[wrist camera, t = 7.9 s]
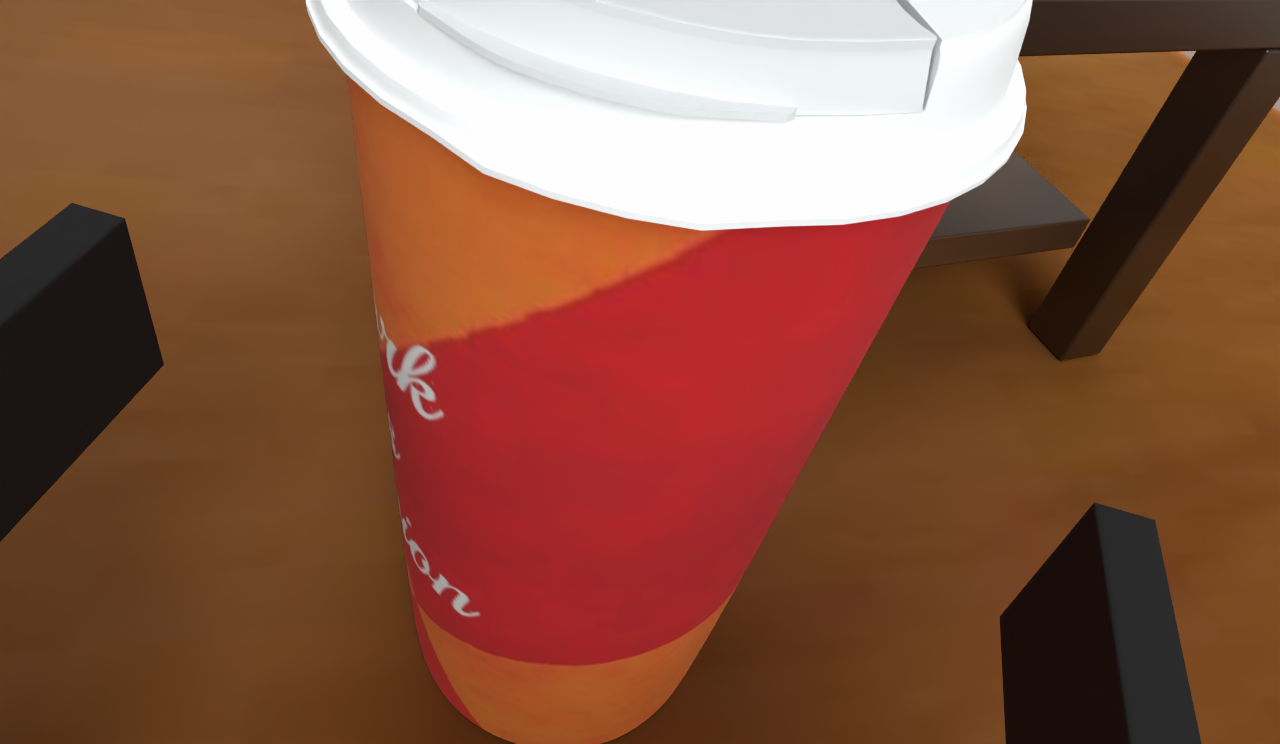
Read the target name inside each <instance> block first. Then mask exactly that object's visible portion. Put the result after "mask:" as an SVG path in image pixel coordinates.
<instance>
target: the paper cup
mask: <svg viewBox="0 0 1280 744" xmlns="http://www.w3.org/2000/svg"><path fill="white" fill-rule="evenodd" d="M1032 1H1033V0H306V7H307V12H308V14H309V17H310V19H311V21H312V24H313V26H314V28H315V31H316V33H317V36H318V38H319V40H320V42H321V43H322V44H323V45H324V47H325V48H326V49H327V51H328V52H329V53H330V55H331V56H332V57H333V58H334V60H335V61H336V62H337V64H338V65H339V66H340V68H341V69H342V70H343V71H344V73H346V74H347V77H348V86H349V94H350V102H351V111H352V119H353V127H354V136H355V144H356V152H357V161H358V169H359V177H360V186H361V194H362V202H363V211H364V219H365V227H366V236H367V244H368V252H369V261H370V269H371V278H372V286H373V295H374V303H375V311H376V320H377V328H378V337H379V345H380V353H381V362H382V370H383V379H384V387H385V396H386V404H387V412H388V421H389V429H390V437H391V445H392V453H393V461H394V469H395V477H396V485H397V493H398V501H399V510H400V518H401V525H402V533H403V540H404V548H405V556H406V563H407V571H408V578H409V585H410V591H411V598H412V604H413V610H414V617H415V623H416V628H417V633H418V637H419V642H420V646H421V649H422V653H423V656H424V659H425V661H426V664H427V666H428V668H429V670H430V673H431V675H432V677H433V679H434V680H435V682H436V684H437V686H438V687H439V688H440V690H441V691H442V693H443V694H444V695H445V697H446V698H447V699H448V700H449V702H450V703H451V704H452V705H453V706H454V707H455V708H456V709H457V710H458V711H459V712H460V713H461V714H463V715H464V716H465V717H466V718H467V719H469V720H470V721H471V722H473V723H474V724H476V725H477V726H479V727H480V728H482V729H484V730H485V731H487V732H489V733H491V734H493V735H495V736H497V737H500V738H502V739H504V740H507V741H510V742H513V743H516V744H601V743H605V742H608V741H610V740H613V739H615V738H618V737H620V736H622V735H624V734H626V733H628V732H630V731H631V730H633V729H634V728H636V727H638V726H639V725H641V724H642V723H643V722H645V721H646V720H647V719H648V718H650V717H651V716H652V715H653V714H654V713H655V712H656V711H657V710H658V709H659V708H660V707H661V706H662V705H663V704H664V703H665V702H666V701H667V699H668V698H669V697H670V696H671V694H672V693H673V692H674V690H675V689H676V687H677V686H678V684H679V683H680V682H681V680H682V679H683V677H684V676H685V674H686V673H687V671H688V669H689V668H690V666H691V664H692V663H693V661H694V659H695V658H696V656H697V654H698V653H699V651H700V649H701V648H702V646H703V645H704V643H705V641H706V639H707V638H708V636H709V634H710V632H711V631H712V629H713V627H714V625H715V624H716V622H717V620H718V618H719V617H720V615H721V613H722V611H723V610H724V608H725V606H726V604H727V603H728V601H729V599H730V597H731V596H732V594H733V592H734V590H735V589H736V587H737V585H738V583H739V581H740V580H741V578H742V576H743V574H744V572H745V571H746V569H747V567H748V565H749V563H750V562H751V560H752V558H753V556H754V555H755V553H756V551H757V549H758V547H759V546H760V544H761V542H762V540H763V538H764V537H765V535H766V533H767V531H768V529H769V528H770V526H771V524H772V522H773V521H774V519H775V517H776V515H777V513H778V512H779V510H780V508H781V506H782V504H783V503H784V501H785V499H786V497H787V495H788V494H789V492H790V490H791V488H792V486H793V485H794V483H795V481H796V479H797V477H798V476H799V474H800V472H801V470H802V468H803V467H804V465H805V463H806V461H807V459H808V457H809V456H810V454H811V452H812V450H813V448H814V447H815V445H816V443H817V441H818V439H819V438H820V436H821V434H822V432H823V430H824V429H825V427H826V425H827V423H828V421H829V419H830V418H831V416H832V414H833V412H834V410H835V409H836V407H837V405H838V403H839V401H840V400H841V398H842V396H843V394H844V392H845V391H846V389H847V387H848V385H849V383H850V381H851V380H852V378H853V376H854V374H855V372H856V371H857V369H858V367H859V365H860V363H861V362H862V360H863V358H864V356H865V354H866V353H867V351H868V349H869V347H870V345H871V343H872V342H873V340H874V338H875V336H876V334H877V333H878V331H879V329H880V327H881V325H882V324H883V322H884V320H885V318H886V316H887V315H888V313H889V311H890V309H891V307H892V306H893V304H894V302H895V300H896V298H897V297H898V295H899V293H900V291H901V289H902V288H903V286H904V284H905V282H906V280H907V279H908V277H909V275H910V273H911V271H912V269H913V268H914V266H915V264H916V262H917V260H918V259H919V257H920V255H921V253H922V251H923V250H924V248H925V246H926V244H927V242H928V241H929V239H930V237H931V235H932V233H933V232H934V230H935V228H936V226H937V224H938V223H939V221H940V219H941V217H942V215H943V214H944V212H945V210H946V208H947V206H948V205H949V203H950V201H951V200H952V199H954V198H956V197H958V196H960V195H962V194H964V193H966V192H968V191H970V190H971V189H973V188H975V187H977V186H979V185H981V184H983V183H984V182H985V181H986V180H987V179H988V178H989V177H991V176H992V175H993V174H994V173H995V172H996V171H997V170H998V169H999V168H1001V167H1002V166H1003V165H1004V164H1005V163H1006V162H1007V161H1008V159H1009V157H1010V155H1011V154H1012V152H1013V150H1014V148H1015V147H1016V145H1017V143H1018V141H1019V139H1020V138H1021V136H1022V134H1023V130H1024V123H1025V116H1026V109H1027V106H1026V101H1025V99H1026V88H1025V83H1024V78H1023V73H1022V69H1021V65H1020V63H1019V61H1018V56H1019V53H1020V50H1021V47H1022V43H1023V40H1024V37H1025V33H1026V30H1027V27H1028V23H1029V20H1030V14H1031V7H1032Z"/></svg>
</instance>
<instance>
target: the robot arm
mask: <svg viewBox="0 0 1280 744" xmlns="http://www.w3.org/2000/svg"><path fill="white" fill-rule="evenodd" d="M163 365H164V364H163V360H162V356H161V352H160V349H159V345H158V341H157V337H156V334H155V330H154V326H153V322H152V319H151V315H150V311H149V307H148V304H147V300H146V296H145V292H144V289H143V285H142V281H141V277H140V274H139V270H138V266H137V262H136V258H135V255H134V251H133V247H132V243H131V240H130V236H129V232H128V228H127V225H126V221H125V218H121V217H118V216H114V215H111V214H108V213H104V212H101V211H97V210H94V209H90V208H87V207H84V206H80V205H77V204H73V203H71V204H70V205H69V206H67V207H66V208H65V209H64V210H62V211H61V212H60V213H59V214H57V215H56V216H55V217H53V218H52V219H51V220H50V221H48V222H47V223H46V224H45V225H43V226H42V227H41V228H39V229H38V230H37V231H36V232H34V233H33V234H32V235H30V236H29V237H28V238H27V239H25V240H24V241H23V242H22V243H20V244H19V245H18V246H16V247H15V248H14V249H13V250H11V251H10V252H9V253H8V254H6V255H5V256H4V257H2V258H1V259H0V541H1V540H2V539H3V538H4V537H5V536H6V535H7V534H8V533H9V532H10V531H11V529H12V528H13V527H14V526H15V525H16V524H17V523H18V522H19V521H20V520H21V519H22V518H23V516H24V515H25V514H26V513H27V512H28V511H29V510H30V509H31V508H32V507H33V506H34V505H35V503H36V502H37V501H38V500H39V499H40V498H41V497H42V496H43V495H44V494H45V493H46V492H47V490H48V489H49V488H50V487H51V486H52V485H53V484H54V483H55V482H56V481H57V480H58V479H59V477H60V476H61V475H62V474H63V473H64V472H65V471H66V470H67V469H68V468H69V467H70V466H71V464H72V463H73V462H74V461H75V460H76V459H77V458H78V457H79V456H80V455H81V454H82V453H83V452H84V450H85V449H86V448H87V447H88V446H89V445H90V444H91V443H92V442H93V441H94V440H95V439H96V437H97V436H98V435H99V434H100V433H101V432H102V431H103V430H104V429H105V428H106V427H107V426H108V424H109V423H110V422H111V421H112V420H113V419H114V418H115V417H116V416H117V415H118V414H119V413H120V411H121V410H122V409H123V408H124V407H125V406H126V405H127V404H128V403H129V402H130V401H131V400H132V398H133V397H134V396H135V395H136V394H137V393H138V392H139V391H140V390H141V389H142V388H143V387H144V385H145V384H146V383H147V382H148V381H149V380H150V379H151V378H152V377H153V376H154V375H155V374H156V373H157V371H158V370H159V369H160V368H161V367H162V366H163ZM1000 631H1001V651H1002V672H1003V693H1004V713H1005V734H1006V744H1201V740H1200V735H1199V730H1198V726H1197V721H1196V716H1195V711H1194V706H1193V701H1192V697H1191V692H1190V687H1189V682H1188V677H1187V673H1186V668H1185V663H1184V658H1183V653H1182V648H1181V644H1180V639H1179V634H1178V629H1177V624H1176V620H1175V615H1174V610H1173V605H1172V600H1171V596H1170V591H1169V586H1168V581H1167V576H1166V571H1165V567H1164V562H1163V557H1162V552H1161V547H1160V543H1159V538H1158V533H1157V528H1156V523H1155V520H1152V519H1149V518H1145V517H1142V516H1139V515H1135V514H1132V513H1128V512H1125V511H1122V510H1118V509H1115V508H1111V507H1108V506H1104V505H1101V504H1098V503H1094V504H1093V505H1092V506H1091V507H1090V509H1089V510H1088V511H1087V512H1086V513H1085V515H1084V516H1083V517H1082V518H1081V519H1080V521H1079V522H1078V523H1077V524H1076V525H1075V527H1074V528H1073V529H1072V530H1071V531H1070V533H1069V534H1068V535H1067V536H1066V538H1065V539H1064V540H1063V541H1062V542H1061V544H1060V545H1059V546H1058V547H1057V548H1056V550H1055V551H1054V552H1053V553H1052V554H1051V556H1050V557H1049V558H1048V559H1047V561H1046V562H1045V563H1044V564H1043V565H1042V567H1041V568H1040V569H1039V570H1038V571H1037V573H1036V574H1035V575H1034V576H1033V577H1032V579H1031V580H1030V581H1029V582H1028V583H1027V585H1026V586H1025V587H1024V588H1023V590H1022V591H1021V592H1020V593H1019V594H1018V596H1017V597H1016V598H1015V599H1014V600H1013V602H1012V603H1011V604H1010V605H1009V606H1008V608H1007V609H1006V610H1005V611H1004V612H1003V614H1002V615H1001V616H1000Z"/></svg>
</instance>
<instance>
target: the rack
mask: <svg viewBox="0 0 1280 744" xmlns="http://www.w3.org/2000/svg"><path fill="white" fill-rule="evenodd" d="M1170 51H1196V53H1195V54H1194V56H1193V57H1192V59H1191V61H1190V62H1189V64H1188V66H1187V67H1186V69H1185V70H1184V72H1183V74H1182V75H1181V77H1180V79H1179V80H1178V82H1177V84H1176V85H1175V87H1174V88H1173V90H1172V92H1171V93H1170V95H1169V97H1168V98H1167V100H1166V101H1165V103H1164V105H1163V106H1162V108H1161V110H1160V111H1159V113H1158V115H1157V116H1156V118H1155V119H1154V121H1153V123H1152V124H1151V126H1150V128H1149V129H1148V131H1147V133H1146V134H1145V136H1144V137H1143V139H1142V141H1141V142H1140V144H1139V146H1138V147H1137V149H1136V150H1135V152H1134V154H1133V155H1132V157H1131V159H1130V160H1129V162H1128V164H1127V165H1126V167H1125V168H1124V170H1123V172H1122V173H1121V175H1120V177H1119V178H1118V180H1117V181H1116V183H1115V185H1114V186H1113V188H1112V190H1111V191H1110V193H1109V195H1108V196H1107V198H1106V199H1105V201H1104V203H1103V204H1102V206H1101V208H1100V209H1099V211H1098V213H1097V214H1096V216H1095V217H1094V219H1093V221H1092V222H1091V224H1090V226H1089V227H1088V229H1087V230H1086V232H1085V234H1084V235H1083V237H1082V239H1081V240H1080V242H1079V244H1078V245H1077V247H1076V248H1075V250H1074V252H1073V253H1072V255H1071V257H1070V258H1069V260H1068V261H1067V263H1066V265H1065V266H1064V268H1063V270H1062V271H1061V273H1060V275H1059V276H1058V278H1057V279H1056V281H1055V283H1054V284H1053V286H1052V288H1051V289H1050V291H1049V293H1048V294H1047V296H1046V297H1045V299H1044V301H1043V302H1042V304H1041V306H1040V307H1039V309H1038V310H1037V312H1036V314H1035V315H1034V317H1033V319H1032V320H1031V322H1030V324H1029V327H1030V329H1031V330H1032V331H1033V332H1034V333H1035V334H1036V335H1037V336H1038V337H1039V338H1040V339H1041V340H1042V342H1043V343H1044V344H1045V345H1046V346H1047V347H1048V348H1049V349H1050V350H1051V351H1052V352H1053V353H1054V354H1055V356H1056V357H1057V358H1058V359H1059V360H1068V359H1073V358H1078V357H1083V356H1089V355H1094V354H1098V353H1100V352H1101V350H1102V349H1103V347H1104V346H1105V345H1106V343H1107V342H1108V340H1109V339H1110V337H1111V336H1112V335H1113V333H1114V332H1115V330H1116V329H1117V327H1118V326H1119V325H1120V323H1121V322H1122V320H1123V319H1124V318H1125V316H1126V315H1127V313H1128V312H1129V310H1130V309H1131V308H1132V306H1133V305H1134V303H1135V302H1136V300H1137V299H1138V298H1139V296H1140V295H1141V293H1142V292H1143V290H1144V289H1145V288H1146V286H1147V285H1148V283H1149V282H1150V281H1151V279H1152V278H1153V276H1154V275H1155V273H1156V272H1157V271H1158V269H1159V268H1160V266H1161V265H1162V263H1163V262H1164V261H1165V259H1166V258H1167V256H1168V255H1169V254H1170V252H1171V251H1172V249H1173V248H1174V246H1175V245H1176V244H1177V242H1178V241H1179V239H1180V238H1181V236H1182V235H1183V234H1184V232H1185V231H1186V229H1187V228H1188V227H1189V225H1190V224H1191V222H1192V221H1193V219H1194V218H1195V217H1196V215H1197V214H1198V212H1199V211H1200V209H1201V208H1202V207H1203V205H1204V204H1205V202H1206V201H1207V200H1208V198H1209V197H1210V195H1211V194H1212V192H1213V191H1214V190H1215V188H1216V187H1217V185H1218V184H1219V182H1220V181H1221V180H1222V178H1223V177H1224V175H1225V174H1226V173H1227V171H1228V170H1229V168H1230V167H1231V165H1232V164H1233V163H1234V161H1235V160H1236V158H1237V157H1238V155H1239V154H1240V153H1241V151H1242V150H1243V148H1244V147H1245V145H1246V144H1247V143H1248V141H1249V140H1250V138H1251V137H1252V136H1253V134H1254V133H1255V131H1256V130H1257V128H1258V127H1259V126H1260V124H1261V123H1262V121H1263V120H1264V118H1265V117H1266V116H1267V114H1268V113H1269V111H1270V110H1271V109H1272V107H1273V106H1274V104H1275V103H1276V101H1277V100H1278V99H1279V97H1280V0H1033V1H1032V7H1031V14H1030V20H1029V23H1028V27H1027V30H1026V33H1025V37H1024V40H1023V43H1022V47H1021V50H1020V53H1019V56H1044V55H1076V54H1107V53H1138V52H1170ZM1089 221H1090V219H1089V218H1088V217H1087V216H1086V215H1085V214H1084V213H1083V212H1081V211H1080V210H1079V209H1078V208H1077V207H1076V206H1075V205H1074V204H1073V203H1072V202H1070V201H1069V200H1068V199H1067V198H1066V197H1065V196H1064V195H1063V194H1062V193H1060V192H1059V191H1058V190H1057V189H1056V188H1055V187H1054V186H1053V185H1052V184H1051V183H1049V182H1048V181H1047V180H1046V179H1045V178H1044V177H1043V176H1042V175H1041V174H1039V173H1038V172H1037V171H1036V170H1035V169H1034V168H1033V167H1032V166H1031V165H1029V164H1028V163H1027V162H1026V161H1025V160H1024V159H1023V158H1022V157H1021V156H1020V155H1018V154H1017V153H1016V152H1015V151H1014V150H1013V152H1012V154H1011V155H1010V157H1009V159H1008V161H1007V162H1006V163H1005V164H1004V165H1003V166H1002V167H1001V168H999V169H998V170H997V171H996V172H995V173H994V174H993V175H992V176H991V177H989V178H988V179H987V180H986V181H985V182H984V183H983V184H981V185H979V186H977V187H975V188H973V189H971V190H970V191H968V192H966V193H964V194H962V195H960V196H958V197H956V198H954V199H952V200H951V201H950V203H949V205H948V206H947V208H946V210H945V212H944V214H943V215H942V217H941V219H940V221H939V223H938V224H937V226H936V228H935V230H934V232H933V233H932V235H931V237H930V239H929V241H928V242H927V244H926V246H925V248H924V250H923V251H922V253H921V255H920V257H919V259H918V260H917V262H916V264H915V266H914V268H922V267H929V266H937V265H944V264H952V263H960V262H967V261H975V260H982V259H990V258H997V257H1005V256H1012V255H1020V254H1027V253H1035V252H1042V251H1050V250H1057V249H1065V248H1072V247H1074V246H1075V244H1076V242H1077V241H1078V239H1079V238H1080V236H1081V234H1082V233H1083V231H1084V229H1085V228H1086V226H1087V224H1088V223H1089ZM914 268H913V269H914Z"/></svg>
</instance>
